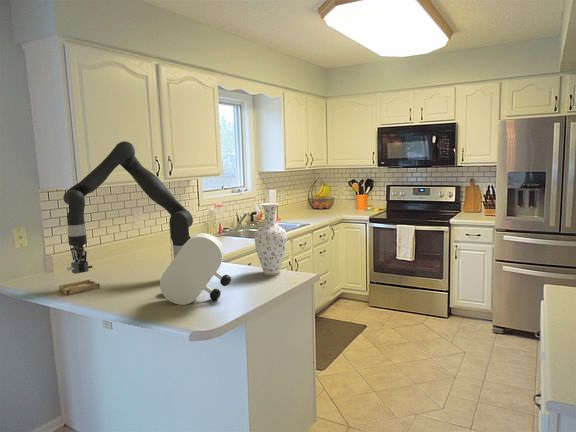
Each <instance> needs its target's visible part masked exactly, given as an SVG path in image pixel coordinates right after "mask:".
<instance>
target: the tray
mask: <svg viewBox="0 0 576 432" xmlns="http://www.w3.org/2000/svg"><path fill="white" fill-rule="evenodd" d="M58 288H59V289H58V290H59V291H60V292H61V293H63V294H64V295H66V296H72V295H76V294H81V293H85V292H89V291H94V290H99V289H101V287H100V283H99V282H97V281H95V280H93V279H87V280H81V281H80V280H79V281H76V282H72V283H67V284H66V283H65V284H61V285H59V286H58Z"/></svg>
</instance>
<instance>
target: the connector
mask: <svg viewBox="0 0 576 432" xmlns="http://www.w3.org/2000/svg"><path fill="white" fill-rule="evenodd" d="M70 264H71V265H70V266H69V267H66V271H68V272H69V271H71V273H72V274H73V275H74V274H75V275H76V274H80V273H82V274H83V273H88V272H89V269H92V268H93V265H89V261H87V260H86V263H85V264H84V267H85V271H84V272H79V264H78V262H74V261H72V262H70Z"/></svg>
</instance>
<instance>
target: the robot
mask: <svg viewBox="0 0 576 432" xmlns="http://www.w3.org/2000/svg"><path fill="white" fill-rule="evenodd" d="M190 237H191V238H190V239H189V240H188V241H187V242H186V243H185V244H184V245H183V247H182V248H181V250H180V251H179V252H178V254H177V255H176V256H175V258H172V260H171V262H170V264H168V265H167V268H166V269H165V271H164V272H162V275H161V277H160V281H159V289H160V291H161V293H162V295H163V296H164V297H165V299H167V300H168V301H169V302H171V303H173V304H176V305H183V306H184V305H185V306H186V305H188V304H191V303H192V302H194V301H195V300H196V299H197V298H198V297H199V296H200V295H201V293H202V292H203V290H204V291H205V292H207V293H208V294H209V297H210V299H211V300H212V301H217V300H219V299H220V297H221V290H220V289H219V288H214V289H212V288H211V287H209V286H208V284H209V282H210V280H211V279H212V278H213V277H214V276H215V277H216V278H218V280H220V282H219V283H220V285H221V286H222V287H227V286H229V285H230V283H231V282H232V277H231V276H230V275H229V274H221V273H220V272H218V271H219V268H220V267H221V265H222V262H223V260H224V257H225V248H224V245H223V244H222V242H221V241H220V240H219V238H217V237H216V236H214V235H212V234H210V233H206V232H201V233H197V234H194V235H193V236H190Z"/></svg>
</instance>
